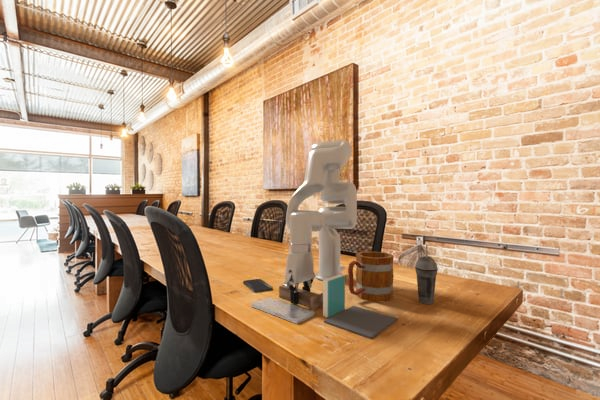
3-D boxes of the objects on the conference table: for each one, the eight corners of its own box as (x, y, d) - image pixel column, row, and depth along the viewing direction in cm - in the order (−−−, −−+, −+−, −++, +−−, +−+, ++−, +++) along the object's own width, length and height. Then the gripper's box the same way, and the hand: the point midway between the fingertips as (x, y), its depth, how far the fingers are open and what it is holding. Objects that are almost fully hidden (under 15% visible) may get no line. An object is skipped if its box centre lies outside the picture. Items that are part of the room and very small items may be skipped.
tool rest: (269, 300, 104) (269, 296, 104) (314, 315, 90) (314, 311, 90) (251, 306, 98) (251, 303, 98) (296, 324, 84) (296, 319, 84)
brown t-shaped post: (287, 294, 111) (287, 283, 110) (324, 305, 99) (324, 293, 99) (275, 298, 106) (275, 287, 106) (312, 310, 94) (312, 298, 94)
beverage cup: (436, 299, 105) (437, 242, 105) (438, 306, 98) (439, 246, 98) (414, 297, 107) (414, 241, 107) (415, 304, 100) (415, 244, 100)
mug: (372, 287, 118) (372, 250, 118) (401, 297, 107) (401, 255, 107) (335, 297, 107) (335, 255, 107) (364, 309, 96) (364, 262, 96)
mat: (353, 307, 98) (353, 305, 98) (397, 319, 88) (397, 317, 88) (323, 322, 86) (323, 320, 86) (371, 338, 76) (371, 336, 76)
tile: (339, 307, 97) (339, 274, 97) (344, 309, 96) (345, 275, 96) (322, 316, 90) (323, 279, 90) (328, 317, 89) (328, 281, 89)
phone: (259, 278, 129) (273, 288, 116) (259, 281, 129) (273, 290, 116) (242, 280, 125) (254, 290, 112) (242, 283, 125) (254, 293, 112)
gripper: (308, 244, 111) (308, 292, 111) (274, 250, 98) (274, 305, 98) (324, 246, 106) (324, 297, 106) (291, 253, 93) (291, 311, 93)
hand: (300, 300), depth 102 cm, fingers open, 5 cm apart
